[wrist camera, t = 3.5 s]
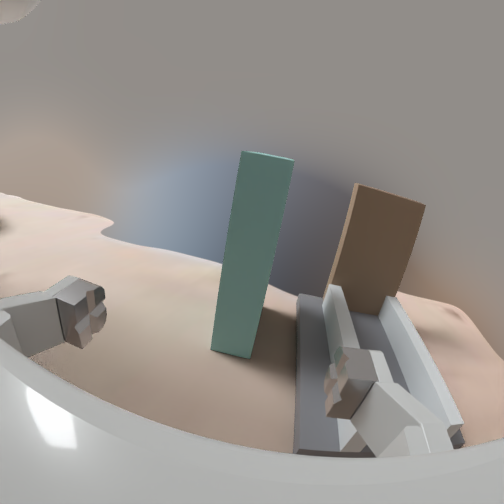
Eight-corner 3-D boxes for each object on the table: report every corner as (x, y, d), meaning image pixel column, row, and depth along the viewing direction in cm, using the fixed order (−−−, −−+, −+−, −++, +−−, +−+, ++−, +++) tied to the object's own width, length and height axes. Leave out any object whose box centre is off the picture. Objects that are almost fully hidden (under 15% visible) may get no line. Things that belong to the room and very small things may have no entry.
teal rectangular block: (209, 349, 20) (240, 150, 15) (230, 298, 28) (256, 152, 23) (251, 359, 20) (296, 161, 15) (262, 306, 28) (294, 159, 23)
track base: (292, 458, 12) (403, 220, 8) (296, 303, 29) (329, 176, 25) (454, 452, 12) (567, 283, 7) (397, 321, 28) (438, 209, 24)
